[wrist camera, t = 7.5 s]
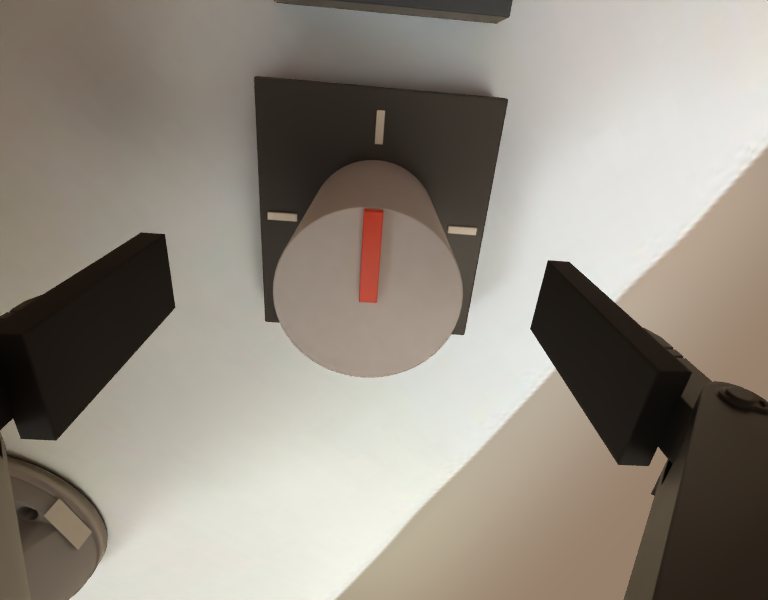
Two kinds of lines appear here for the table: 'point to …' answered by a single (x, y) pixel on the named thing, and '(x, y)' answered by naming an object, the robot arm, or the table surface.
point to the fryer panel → (375, 157)
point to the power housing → (423, 8)
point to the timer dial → (369, 274)
